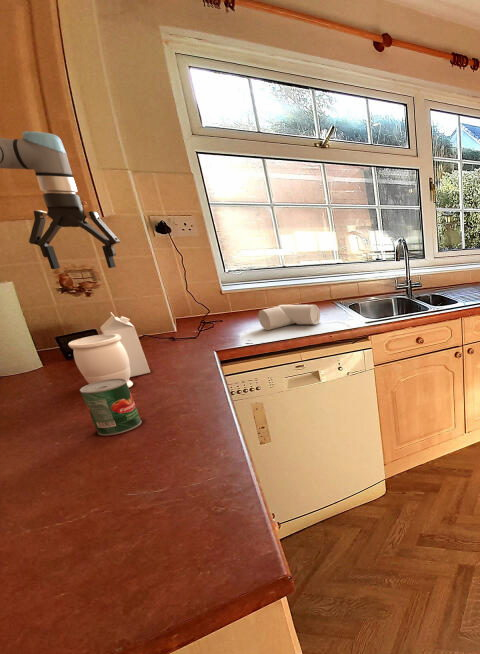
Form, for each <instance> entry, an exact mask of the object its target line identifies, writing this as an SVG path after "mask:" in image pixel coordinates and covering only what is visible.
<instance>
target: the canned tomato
mask: <svg viewBox="0 0 480 654" xmlns="http://www.w3.org/2000/svg"><path fill="white" fill-rule="evenodd" d="M79 392H80V393H81V397H82V399H83V401H84V403H85V406H86V409H87V410H88V413H89V414H90V417H91V420H92V422H93V424H94V427H95V429H96V431H97V434H98V435H99V436H104V437H105V436H108V437H109V436H115V435H119V434H123V433H126V432H129V431H132V430H134V429H136V428H137V427H139V426H141V424H142V419H141V417H140V414H139V411H138V409H137V407H136V404H135V401H134V399H133V395H132V393H131V390H130V388H129V387H128V385H127V383H126V380H125V379H120V378H117V379H108V380H102V381H98V382H94V383H91V384H89V383H88V384H86V385H84V386H82V387H81V388H80V389H79Z"/></svg>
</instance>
